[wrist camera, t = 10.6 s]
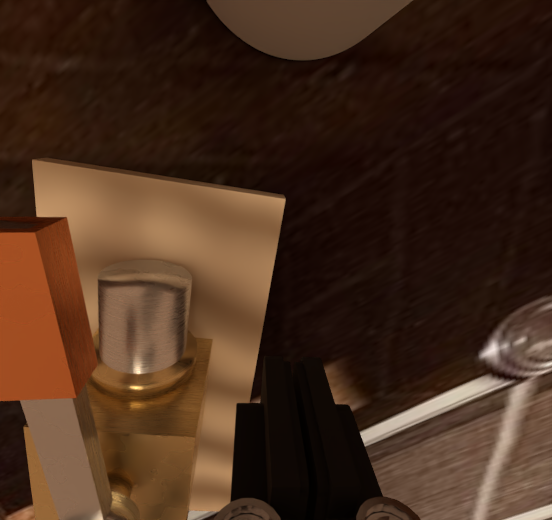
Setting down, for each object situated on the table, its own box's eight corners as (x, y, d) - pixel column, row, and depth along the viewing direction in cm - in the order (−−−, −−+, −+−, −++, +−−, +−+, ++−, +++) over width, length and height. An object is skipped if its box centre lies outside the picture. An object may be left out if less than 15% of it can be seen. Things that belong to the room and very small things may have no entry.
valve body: (196, 472, 30) (174, 618, 21) (101, 468, 29) (35, 619, 20) (221, 264, 23) (203, 350, 14) (97, 248, 22) (-8, 330, 13)
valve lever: (144, 535, 17) (133, 579, 16) (71, 540, 17) (52, 585, 15) (82, 216, 11) (53, 232, 10) (-33, 216, 11) (-83, 232, 9)
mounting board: (230, 495, 33) (229, 511, 32) (69, 489, 31) (60, 505, 30) (283, 194, 23) (285, 199, 21) (46, 157, 21) (32, 159, 20)
